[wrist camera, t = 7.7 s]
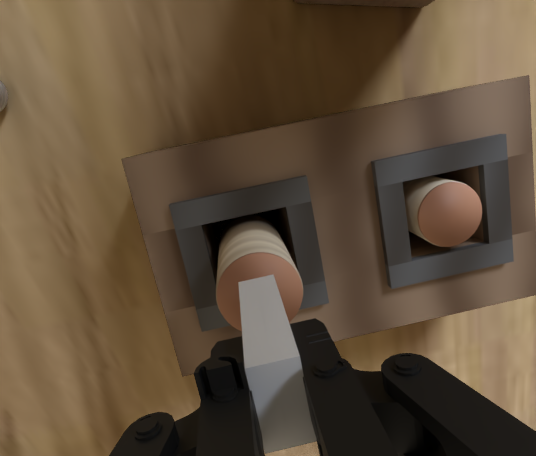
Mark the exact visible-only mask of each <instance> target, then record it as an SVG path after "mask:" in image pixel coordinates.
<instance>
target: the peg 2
mask: <svg viewBox="0 0 536 456" xmlns="http://www.w3.org/2000/svg"><path fill="white" fill-rule="evenodd" d="M402 183H403V191H404V199H405V207H406V216H407V224H408V231H410V232H412V233H414V234H415V235H417V236H419V237H421V238H423V239H424V240H426V241H428V242H430V243H432V244H434V245H437V246H442V247H451V246H456V245H459V244H461V243H463V242H465V241H466V240H467V239H469V238H470V237H471V236H472V235H473V234H474V233H475V231H476V230H477V228H478V226H479V224H480V221H481V217H482V204H481V201H480V198H479V196H478V195H477V193H476V192H475V191H474V190H473V189H472V188H471V187H470V186H468V185H466V184H464V183H462V182H458V181H453V180H449V179H444V178H440V177H435V176H427V177H423V178H418V179H413V180H409V181H404V182H402Z"/></svg>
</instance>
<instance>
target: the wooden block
mask: <svg viewBox="0 0 536 456" xmlns="http://www.w3.org/2000/svg"><path fill="white" fill-rule="evenodd" d="M293 1H295V2H297V3H312V4H339V5H366V6H393V7H420V8H422V7H424V6H427V5H428V4H430V3H431V2H433V1H435V0H293Z"/></svg>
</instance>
